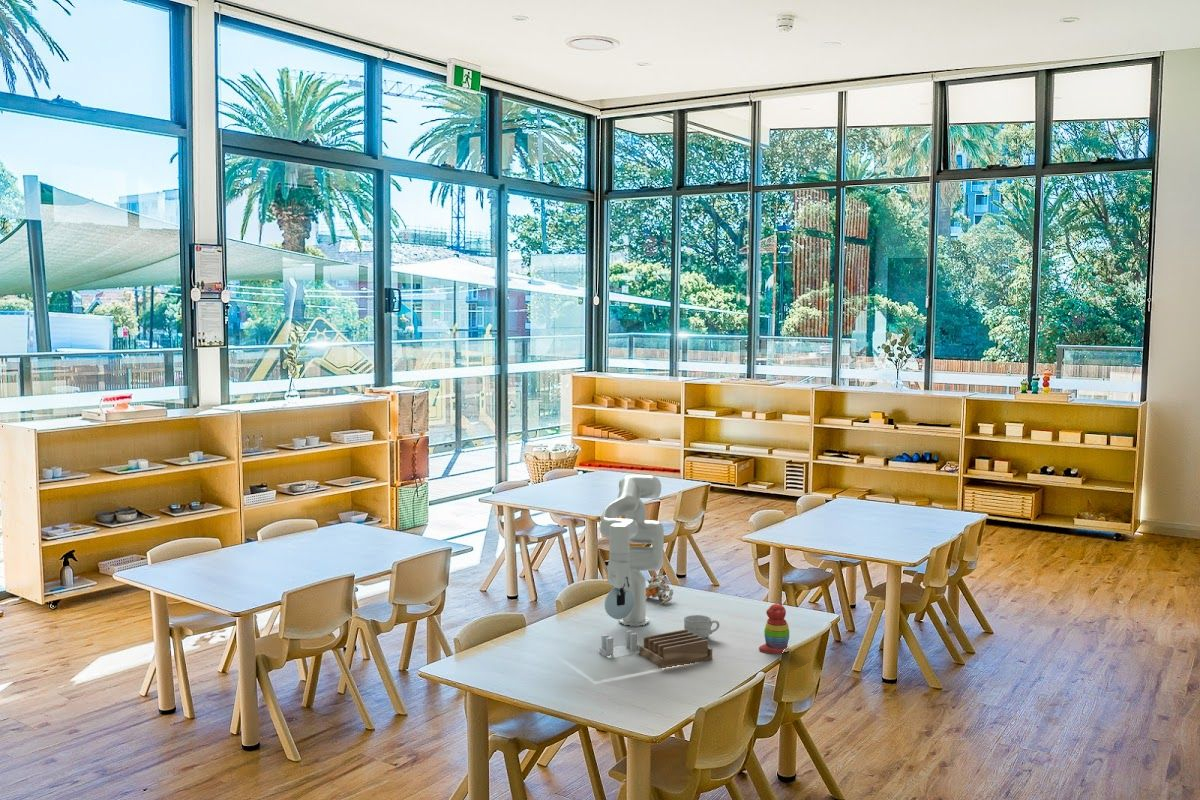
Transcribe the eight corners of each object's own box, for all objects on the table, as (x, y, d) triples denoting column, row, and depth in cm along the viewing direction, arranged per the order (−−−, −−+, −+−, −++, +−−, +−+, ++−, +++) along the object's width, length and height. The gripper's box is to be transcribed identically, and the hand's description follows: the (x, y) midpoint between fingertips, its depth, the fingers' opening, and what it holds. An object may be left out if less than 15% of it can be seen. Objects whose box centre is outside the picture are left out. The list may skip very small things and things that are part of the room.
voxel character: (655, 600, 458) (680, 590, 449) (646, 611, 450) (671, 601, 441) (641, 579, 457) (666, 569, 448) (632, 590, 449) (657, 580, 440)
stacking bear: (771, 643, 394) (771, 598, 392) (794, 649, 388) (795, 603, 386) (756, 650, 386) (757, 605, 384) (780, 656, 379) (781, 610, 378)
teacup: (679, 639, 399) (679, 619, 398) (690, 631, 409) (690, 612, 408) (712, 645, 393) (713, 624, 392) (722, 636, 402) (723, 617, 401)
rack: (639, 656, 380) (639, 637, 379) (688, 646, 391) (688, 627, 390) (661, 670, 366) (661, 650, 365) (712, 659, 377) (712, 640, 376)
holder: (595, 653, 384) (595, 633, 383) (630, 646, 391) (630, 627, 390) (608, 661, 375) (608, 641, 374) (643, 654, 382) (643, 635, 381)
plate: (603, 619, 380) (605, 587, 379) (631, 616, 385) (633, 585, 384) (605, 620, 378) (607, 588, 377) (633, 617, 384) (635, 586, 383)
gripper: (600, 552, 384) (600, 600, 386) (620, 562, 371) (621, 611, 373) (617, 550, 388) (618, 597, 390) (638, 559, 374) (638, 608, 377)
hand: (619, 604), depth 381 cm, fingers closed on plate, 1 cm apart
